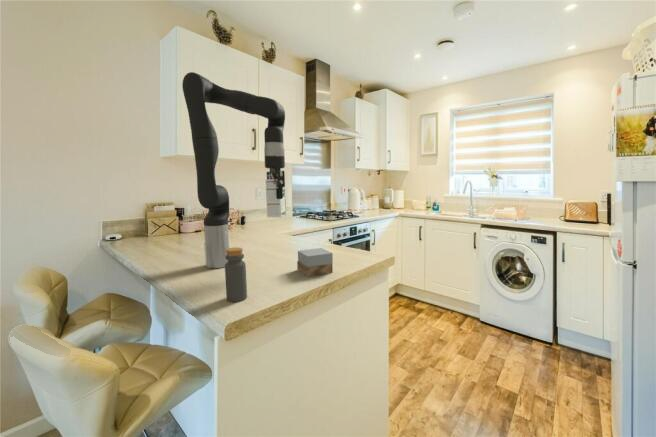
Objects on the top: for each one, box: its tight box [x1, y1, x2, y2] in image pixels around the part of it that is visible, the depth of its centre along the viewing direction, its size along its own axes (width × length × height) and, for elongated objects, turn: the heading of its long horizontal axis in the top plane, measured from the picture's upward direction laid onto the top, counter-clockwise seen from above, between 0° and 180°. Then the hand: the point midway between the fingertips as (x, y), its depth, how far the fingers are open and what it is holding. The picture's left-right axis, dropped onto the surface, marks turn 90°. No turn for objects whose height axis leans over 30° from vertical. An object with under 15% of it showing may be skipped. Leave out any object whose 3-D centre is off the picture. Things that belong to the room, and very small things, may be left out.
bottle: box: [224, 247, 248, 303], centre depth 88 cm, size 6×6×15 cm
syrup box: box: [265, 179, 287, 218], centre depth 115 cm, size 6×6×14 cm
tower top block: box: [297, 247, 334, 267], centre depth 114 cm, size 10×10×4 cm
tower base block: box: [296, 260, 333, 278], centre depth 114 cm, size 10×10×4 cm
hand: (275, 198), depth 115 cm, fingers closed on syrup box, 8 cm apart
